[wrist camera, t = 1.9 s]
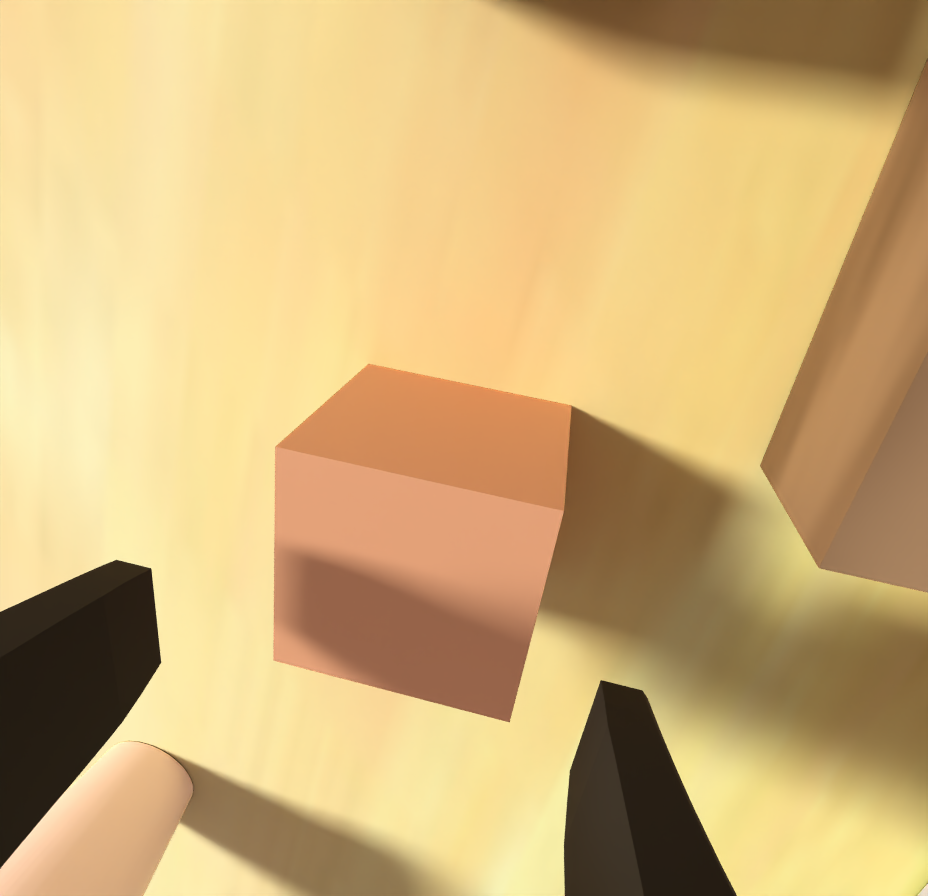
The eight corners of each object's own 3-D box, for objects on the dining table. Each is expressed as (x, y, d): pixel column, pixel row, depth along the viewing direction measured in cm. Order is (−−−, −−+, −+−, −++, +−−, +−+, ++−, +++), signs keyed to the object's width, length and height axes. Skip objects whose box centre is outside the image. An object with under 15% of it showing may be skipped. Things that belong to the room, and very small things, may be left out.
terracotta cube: (571, 404, 14) (564, 511, 10) (530, 572, 17) (509, 722, 12) (369, 363, 15) (275, 446, 10) (355, 531, 17) (273, 660, 13)
